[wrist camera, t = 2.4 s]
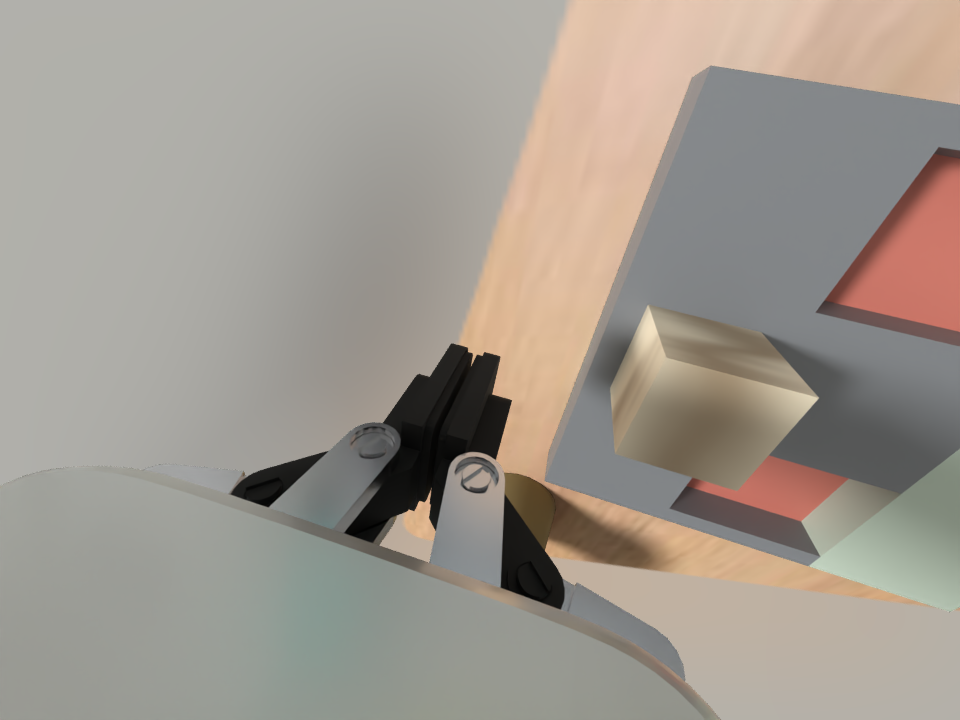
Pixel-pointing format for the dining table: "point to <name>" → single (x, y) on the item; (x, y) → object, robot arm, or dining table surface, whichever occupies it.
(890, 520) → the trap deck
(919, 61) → the dining table surface
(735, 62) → the dining table surface
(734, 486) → the beech block
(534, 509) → the olive pawn
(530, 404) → the dining table surface
